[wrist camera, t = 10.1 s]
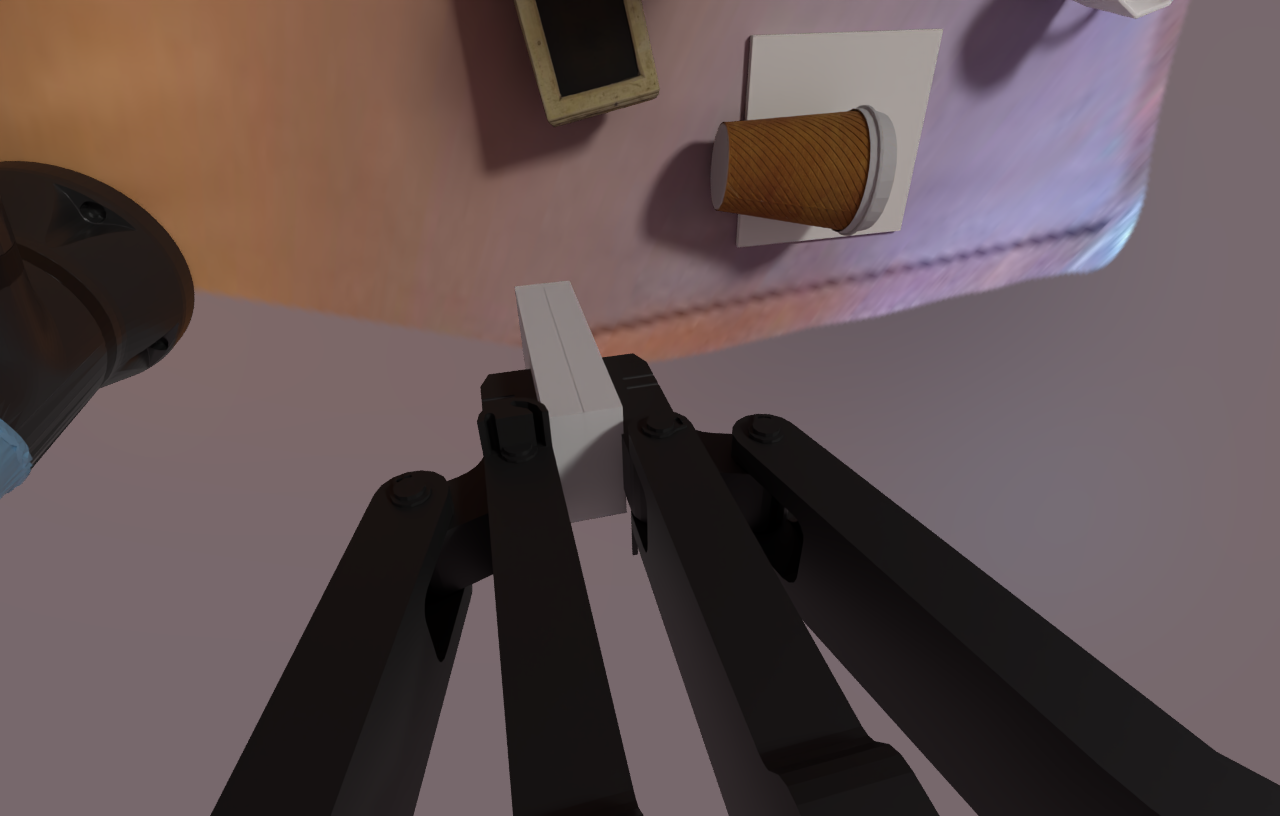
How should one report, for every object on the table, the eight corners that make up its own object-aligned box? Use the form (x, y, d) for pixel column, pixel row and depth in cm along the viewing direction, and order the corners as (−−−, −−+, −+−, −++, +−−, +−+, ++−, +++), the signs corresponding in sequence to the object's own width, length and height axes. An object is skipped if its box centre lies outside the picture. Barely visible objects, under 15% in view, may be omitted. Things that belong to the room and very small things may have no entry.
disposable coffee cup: (734, 204, 43) (902, 210, 44) (732, 69, 44) (898, 78, 45) (706, 248, 53) (845, 251, 54) (705, 136, 53) (842, 142, 54)
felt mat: (735, 245, 56) (738, 247, 55) (750, 35, 47) (753, 35, 46) (897, 228, 59) (900, 230, 58) (939, 28, 50) (943, 29, 50)
